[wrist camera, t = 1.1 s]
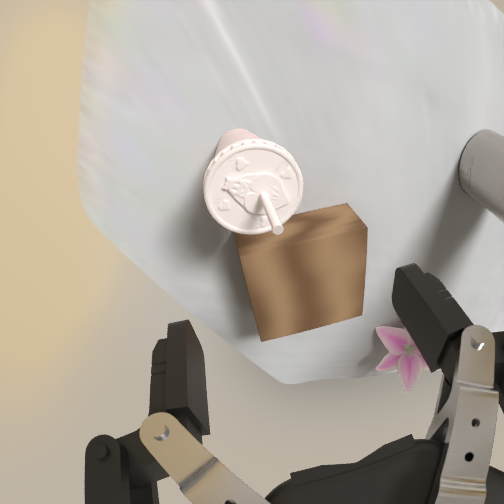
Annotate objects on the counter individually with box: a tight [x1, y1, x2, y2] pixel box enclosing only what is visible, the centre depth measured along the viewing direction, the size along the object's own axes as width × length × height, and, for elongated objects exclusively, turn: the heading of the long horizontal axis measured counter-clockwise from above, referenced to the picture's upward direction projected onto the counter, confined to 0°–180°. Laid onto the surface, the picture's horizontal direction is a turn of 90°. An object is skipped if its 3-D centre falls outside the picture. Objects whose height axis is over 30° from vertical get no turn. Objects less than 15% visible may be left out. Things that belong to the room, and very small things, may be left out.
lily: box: [376, 326, 441, 395], centre depth 45 cm, size 12×12×10 cm
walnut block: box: [235, 203, 368, 342], centre depth 34 cm, size 12×12×5 cm
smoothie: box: [203, 129, 303, 235], centre depth 22 cm, size 6×6×14 cm
